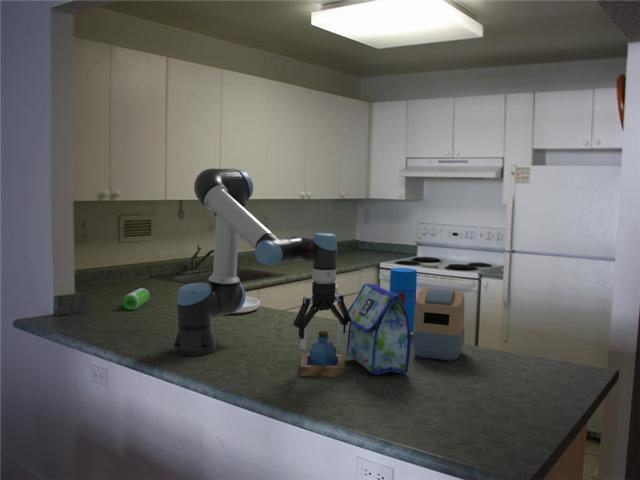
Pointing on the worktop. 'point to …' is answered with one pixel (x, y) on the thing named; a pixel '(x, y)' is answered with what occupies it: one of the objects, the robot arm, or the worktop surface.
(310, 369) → the wooden picture frame
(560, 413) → the worktop surface
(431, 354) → the alarm clock
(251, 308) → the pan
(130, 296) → the speaker
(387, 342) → the lunch bag
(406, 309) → the thermos
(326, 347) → the perfume bottle
